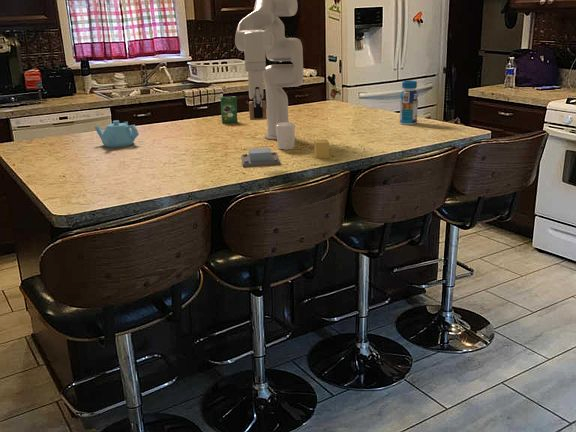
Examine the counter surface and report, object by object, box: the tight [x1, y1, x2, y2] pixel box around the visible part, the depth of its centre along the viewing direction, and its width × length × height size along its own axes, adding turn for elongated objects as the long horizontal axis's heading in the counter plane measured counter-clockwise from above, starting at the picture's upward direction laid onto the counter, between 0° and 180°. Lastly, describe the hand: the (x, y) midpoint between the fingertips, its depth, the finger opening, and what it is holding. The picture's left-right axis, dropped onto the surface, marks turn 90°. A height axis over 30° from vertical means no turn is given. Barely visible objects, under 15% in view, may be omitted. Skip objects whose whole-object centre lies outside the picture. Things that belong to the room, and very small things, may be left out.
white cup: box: [276, 122, 296, 151], centre depth 250 cm, size 8×8×10 cm
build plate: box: [240, 147, 281, 168], centre depth 231 cm, size 14×14×4 cm
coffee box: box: [220, 95, 238, 124], centre depth 309 cm, size 8×3×13 cm, turn 103°
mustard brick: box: [313, 139, 330, 159], centre depth 234 cm, size 5×5×6 cm
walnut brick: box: [248, 100, 267, 121], centre depth 225 cm, size 6×6×6 cm
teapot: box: [94, 120, 139, 149], centre depth 267 cm, size 15×15×11 cm
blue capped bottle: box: [399, 79, 419, 126], centre depth 288 cm, size 8×8×20 cm
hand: (257, 116), depth 225 cm, fingers closed on walnut brick, 6 cm apart
